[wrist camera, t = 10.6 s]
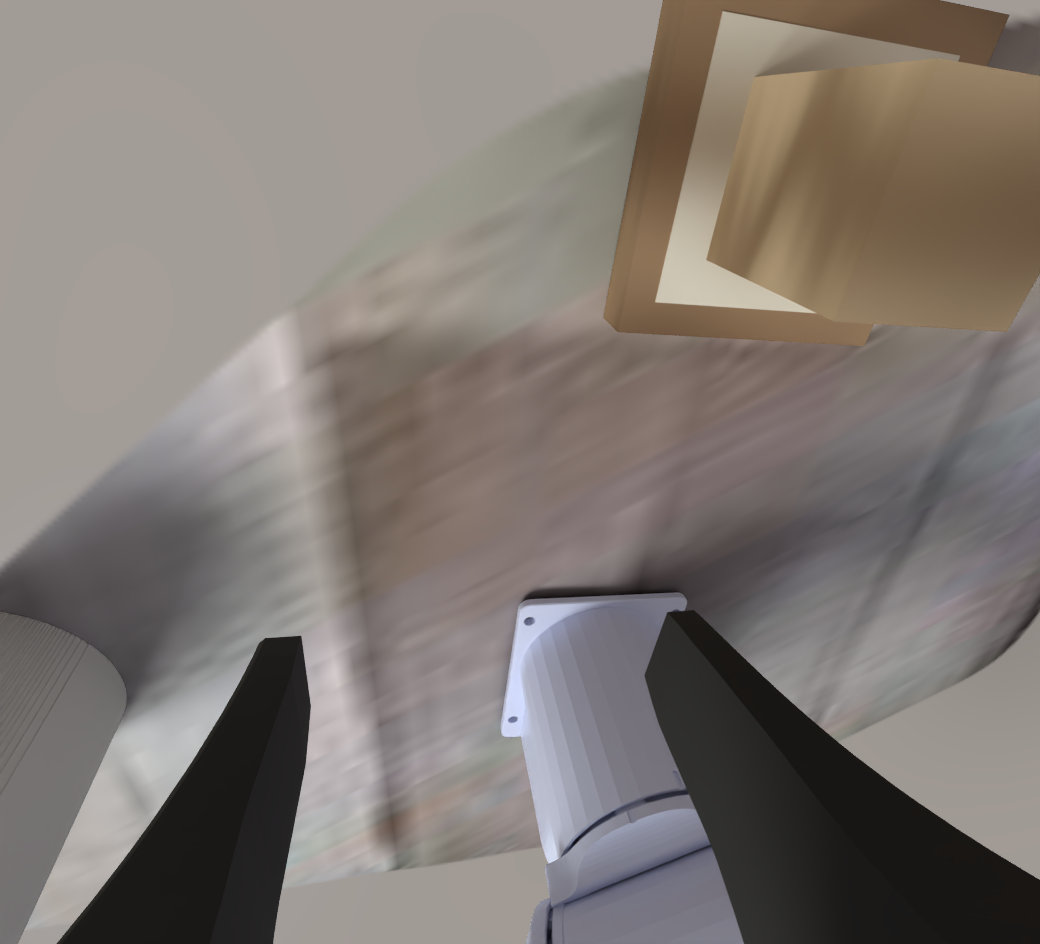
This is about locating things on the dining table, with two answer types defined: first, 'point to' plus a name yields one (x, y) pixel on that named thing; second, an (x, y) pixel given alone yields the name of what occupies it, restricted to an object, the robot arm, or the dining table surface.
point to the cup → (46, 751)
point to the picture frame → (714, 134)
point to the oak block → (889, 193)
